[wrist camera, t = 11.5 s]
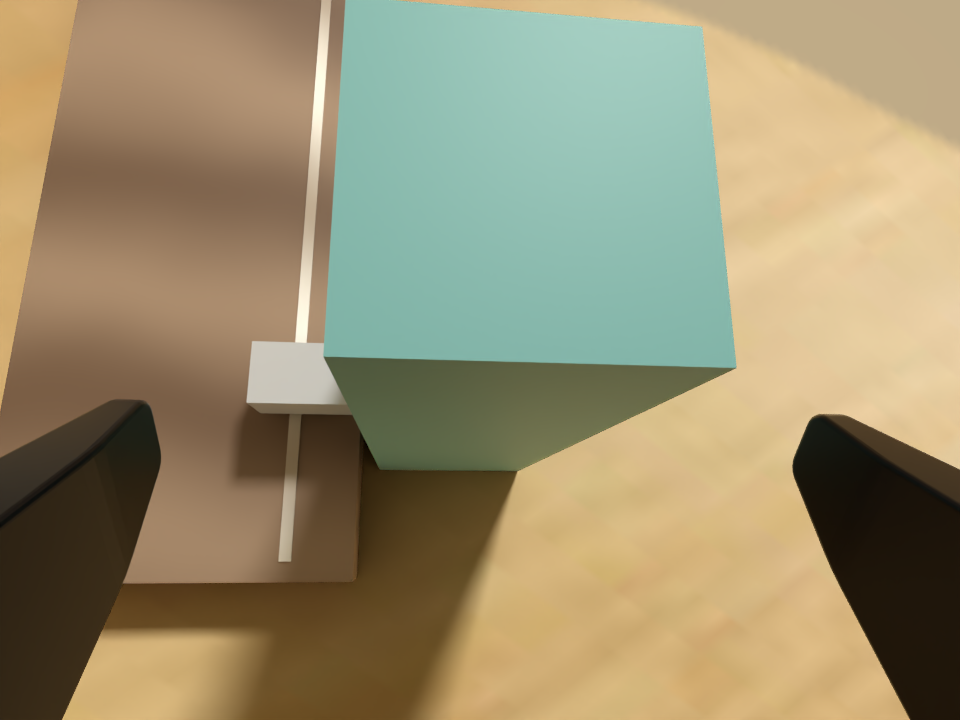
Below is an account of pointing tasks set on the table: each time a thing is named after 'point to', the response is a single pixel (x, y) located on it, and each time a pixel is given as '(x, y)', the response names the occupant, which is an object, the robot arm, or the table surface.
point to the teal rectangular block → (511, 236)
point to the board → (195, 276)
